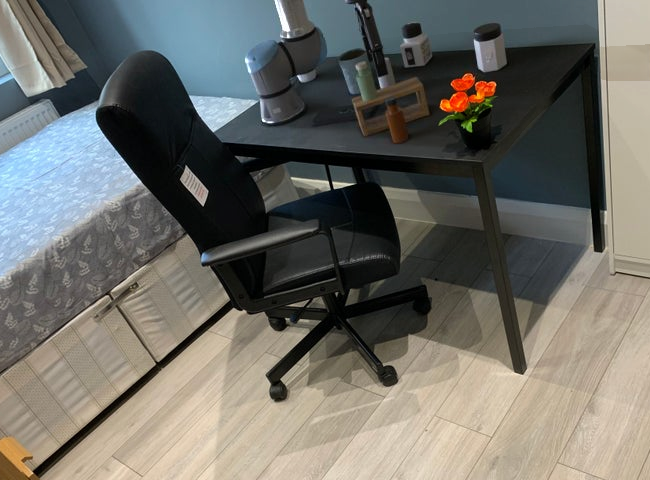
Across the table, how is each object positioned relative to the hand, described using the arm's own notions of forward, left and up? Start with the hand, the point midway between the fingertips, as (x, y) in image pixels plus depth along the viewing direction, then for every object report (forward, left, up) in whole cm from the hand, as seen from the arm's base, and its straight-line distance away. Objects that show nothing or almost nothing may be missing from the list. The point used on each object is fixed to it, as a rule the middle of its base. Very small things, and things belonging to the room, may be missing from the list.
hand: (378, 67), depth 165 cm
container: (-53, +20, -20) cm, 60 cm away
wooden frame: (-12, +2, -20) cm, 23 cm away
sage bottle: (-12, -3, -11) cm, 16 cm away
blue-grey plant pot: (-46, -2, -20) cm, 50 cm away
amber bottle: (+2, +1, -20) cm, 20 cm away
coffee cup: (-75, -19, -20) cm, 80 cm away
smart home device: (-28, -11, -20) cm, 36 cm away
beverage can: (-30, +5, -20) cm, 37 cm away
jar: (-27, +38, -20) cm, 51 cm away
